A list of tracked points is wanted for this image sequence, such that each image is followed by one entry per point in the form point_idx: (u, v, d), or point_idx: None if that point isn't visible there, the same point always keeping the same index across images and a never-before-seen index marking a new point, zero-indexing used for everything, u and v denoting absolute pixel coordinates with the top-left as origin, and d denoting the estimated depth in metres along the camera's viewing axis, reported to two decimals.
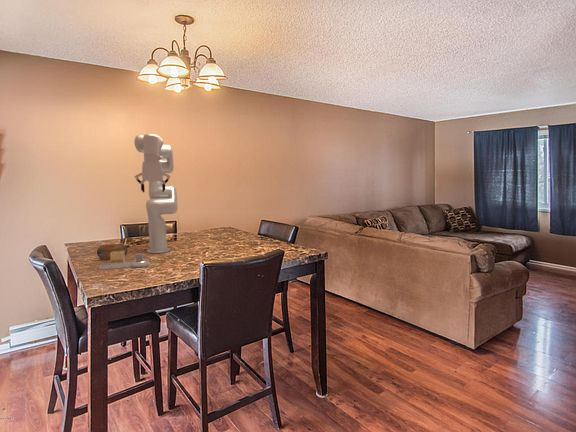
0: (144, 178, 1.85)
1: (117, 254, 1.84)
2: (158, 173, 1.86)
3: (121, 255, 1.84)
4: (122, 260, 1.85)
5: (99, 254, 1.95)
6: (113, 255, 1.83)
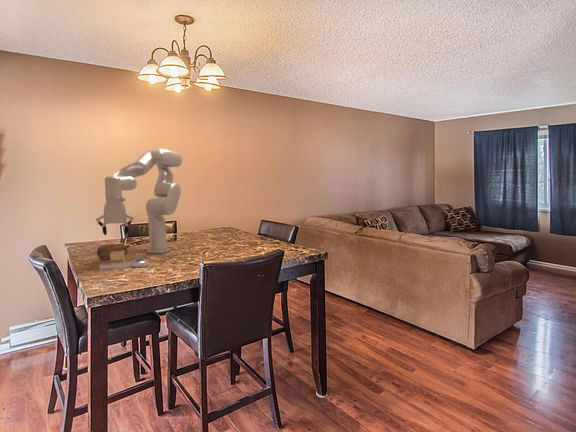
0: (105, 221, 1.81)
1: (117, 254, 1.84)
2: (120, 215, 1.83)
3: (121, 255, 1.84)
4: (122, 260, 1.85)
5: (99, 254, 1.95)
6: (113, 255, 1.83)
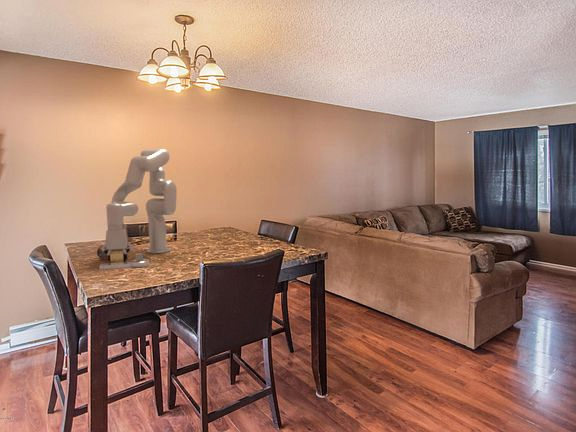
0: (107, 248, 1.83)
1: (117, 254, 1.84)
2: (122, 242, 1.84)
3: (121, 255, 1.84)
4: (122, 260, 1.85)
5: (99, 254, 1.95)
6: (113, 255, 1.83)
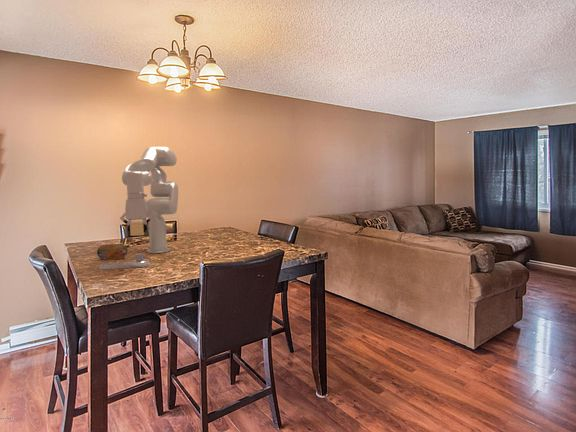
0: (127, 217, 1.77)
1: (137, 224, 1.77)
2: (142, 211, 1.78)
3: (141, 225, 1.78)
4: (142, 230, 1.78)
5: (99, 254, 1.95)
6: (133, 225, 1.77)
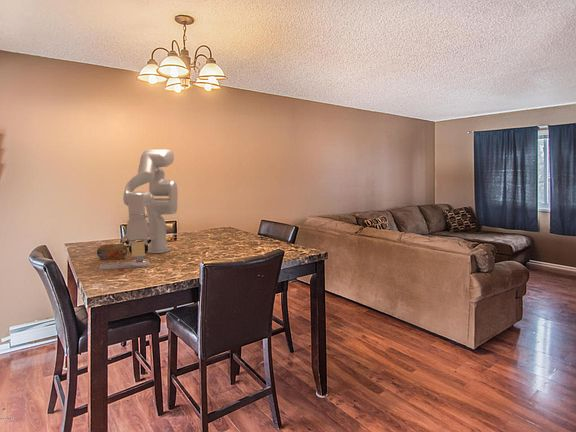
0: (129, 238, 1.78)
1: (138, 245, 1.79)
2: (143, 232, 1.79)
3: (142, 246, 1.79)
4: (143, 251, 1.80)
5: (99, 254, 1.95)
6: (134, 246, 1.78)
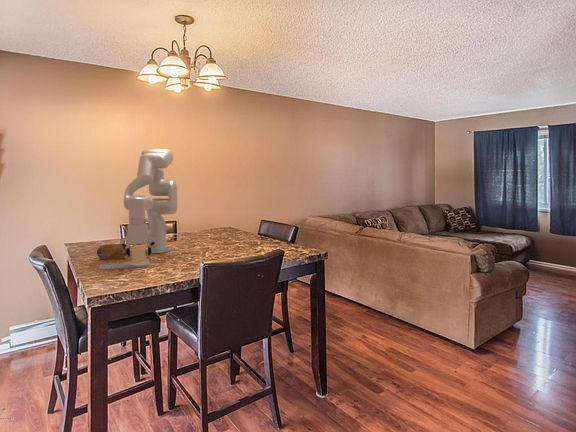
0: (129, 242, 1.78)
1: (139, 251, 1.79)
2: (144, 237, 1.80)
3: (143, 252, 1.80)
4: (144, 257, 1.80)
5: (99, 254, 1.95)
6: (135, 252, 1.79)
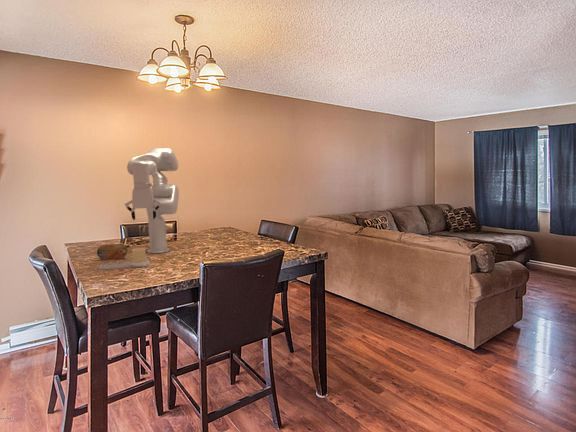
0: (134, 206, 1.83)
1: (139, 251, 1.79)
2: (148, 201, 1.84)
3: (143, 252, 1.80)
4: (144, 257, 1.80)
5: (99, 254, 1.95)
6: (135, 252, 1.79)
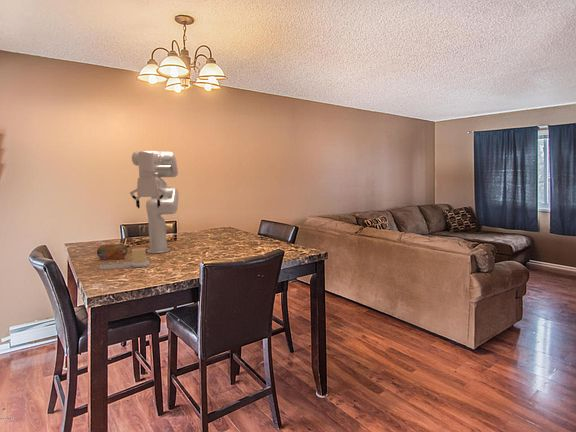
0: (139, 194, 1.86)
1: (139, 251, 1.79)
2: (153, 189, 1.88)
3: (143, 252, 1.80)
4: (144, 257, 1.80)
5: (99, 254, 1.95)
6: (135, 252, 1.79)
